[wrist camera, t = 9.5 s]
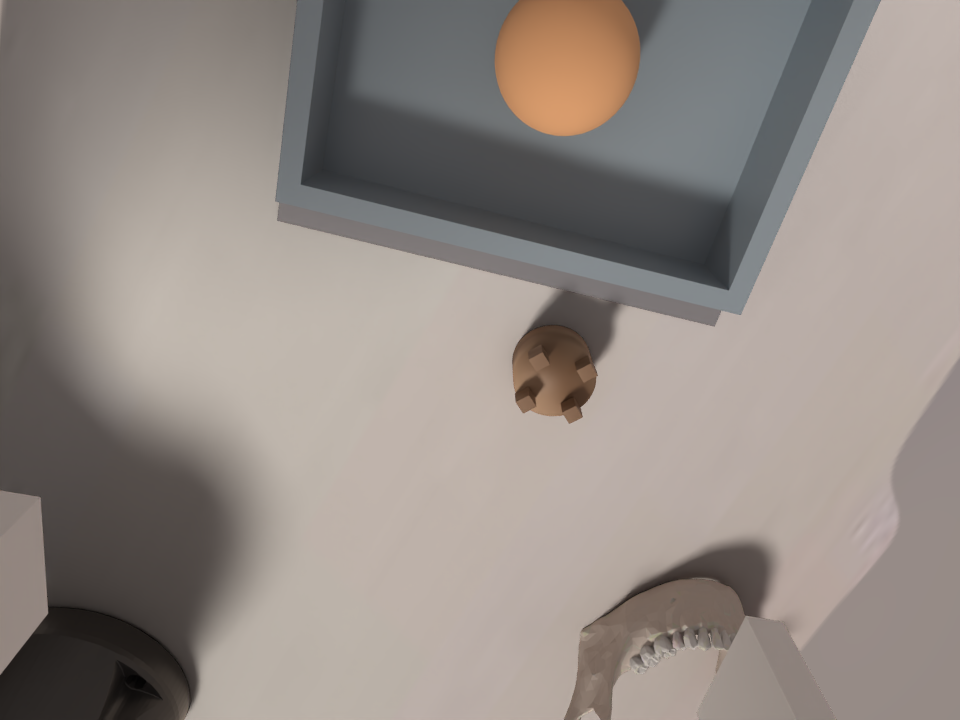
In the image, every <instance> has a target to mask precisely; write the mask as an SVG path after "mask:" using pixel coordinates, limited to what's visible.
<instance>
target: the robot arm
mask: <svg viewBox="0 0 960 720" xmlns="http://www.w3.org/2000/svg"><path fill="white" fill-rule="evenodd" d="M189 703H190V692H189V687H188V683H187V680H186V678H185V675H184V673H183V671H182V670H181V668H180V666H179V665H178V663H177V662H176V661H175V659H174V658H173V657H172V656H171V655H170V654H169V653H168V652H167V651H166V650H165V649H164V648H163V647H162V646H161V645H160V644H159V643H157V642H156V641H155V640H154V639H152V638H151V637H149V636H148V635H146V634H145V633H143V632H142V631H140V630H138V629H136V628H135V627H133V626H131V625H129V624H127V623H124V622H122V621H120V620H117V619H115V618H112V617H109V616H106V615H103V614H99V613H95V612H91V611H86V610H80V609H71V608H48V603H47V587H46V572H45V557H44V542H43V526H42V511H41V497H37V496H31V495H25V494H19V493H13V492H7V491H1V490H0V720H184V719H185V717H186V715H187V712H188V709H189ZM697 715H698V718H699V720H837V719H836V717H835V716H834V714H833V712H832V711H831V708H830V707H829V705H828V703H827V701H826V699H825V697H824V696H823V694H822V692H821V690H820V688H819V686H818V685H817V683H816V681H815V680H814V677H813V676H812V674H811V672H810V670H809V668H808V666H807V665H806V663H805V661H804V659H803V657H802V656H801V654H800V652H799V650H798V648H797V646H796V645H795V643H794V641H793V639H792V637H791V635H790V634H789V632H788V630H787V628H786V626H785V625H784V623H783V622H781V621H775V620H769V619H763V618H757V617H751V616H746V617H745V618H744V620H743V622H742V624H741V626H740V628H739V630H738V632H737V634H736V636H735V638H734V640H733V642H732V644H731V646H730V648H729V650H728V652H727V654H726V656H725V658H724V660H723V662H722V664H721V665H720V667H719V669H718V671H717V673H716V675H715V677H714V679H713V681H712V683H711V685H710V687H709V689H708V691H707V693H706V695H705V697H704V699H703V701H702V703H701V705H700V707H699V709H698V710H697Z"/></svg>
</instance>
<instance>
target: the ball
mask: <svg viewBox="0 0 960 720" xmlns="http://www.w3.org/2000/svg"><path fill="white" fill-rule="evenodd" d="M639 64H640V40H639V35H638V31H637V27H636V24H635V22H634V19H633V17H632V15H631V13H630V11H629V9H628V8H627V7H626V5H625V4H624V2H623V1H622V0H519V1H518V2H517V3H516V4H515V5H514V7H513V8H512V9H511V11H510V12H509V14H508V15H507V17H506V19H505V21H504V23H503V25H502V27H501V30H500V32H499V36H498V39H497V43H496V49H495V73H496V78H497V83H498V86H499V89H500V92H501V94H502V96H503V98H504V100H505V102H506V104H507V105H508V107H509V108H510V109H511V111H512V112H513V113H514V114H515V115H516V116H517V117H518V118H519V119H520V120H521V121H522V122H524V123H525V124H526V125H528V126H529V127H531V128H533V129H535V130H537V131H540V132H542V133H545V134H549V135H555V136H573V135H578V134H583V133H586V132H588V131H591V130H593V129H595V128H597V127H599V126H601V125H602V124H604V123H605V122H606V121H608V120H609V119H610V118H611V117H612V116H614V115H615V114H616V113H617V111H618V110H619V109H620V108H621V107H622V106H623V104H624V103H625V101H626V100H627V98H628V97H629V95H630V93H631V91H632V89H633V86H634V84H635V81H636V78H637V74H638V70H639Z"/></svg>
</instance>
